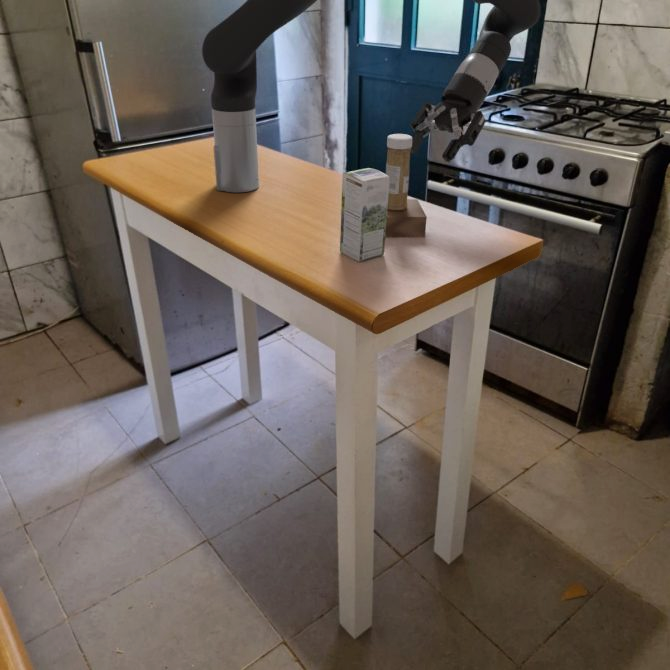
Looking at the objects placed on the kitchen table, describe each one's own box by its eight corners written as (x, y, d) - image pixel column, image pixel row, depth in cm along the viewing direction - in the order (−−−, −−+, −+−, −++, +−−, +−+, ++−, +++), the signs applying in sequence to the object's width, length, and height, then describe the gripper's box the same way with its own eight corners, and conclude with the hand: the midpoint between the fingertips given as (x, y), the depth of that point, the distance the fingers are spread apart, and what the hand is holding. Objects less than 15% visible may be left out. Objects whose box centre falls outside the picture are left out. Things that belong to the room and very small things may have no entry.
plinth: (372, 237, 118) (373, 217, 116) (366, 218, 126) (367, 199, 124) (424, 237, 118) (426, 216, 116) (415, 218, 127) (417, 199, 125)
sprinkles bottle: (411, 209, 120) (417, 137, 113) (391, 212, 118) (395, 139, 111) (399, 202, 123) (404, 131, 116) (378, 205, 122) (382, 134, 115)
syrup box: (364, 245, 115) (367, 166, 107) (385, 256, 111) (390, 174, 103) (339, 252, 112) (341, 171, 104) (360, 263, 108) (363, 180, 100)
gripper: (434, 67, 123) (391, 136, 122) (495, 76, 114) (450, 150, 113) (448, 92, 129) (408, 159, 128) (508, 103, 120) (464, 174, 119)
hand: (427, 155), depth 120 cm, fingers open, 8 cm apart
